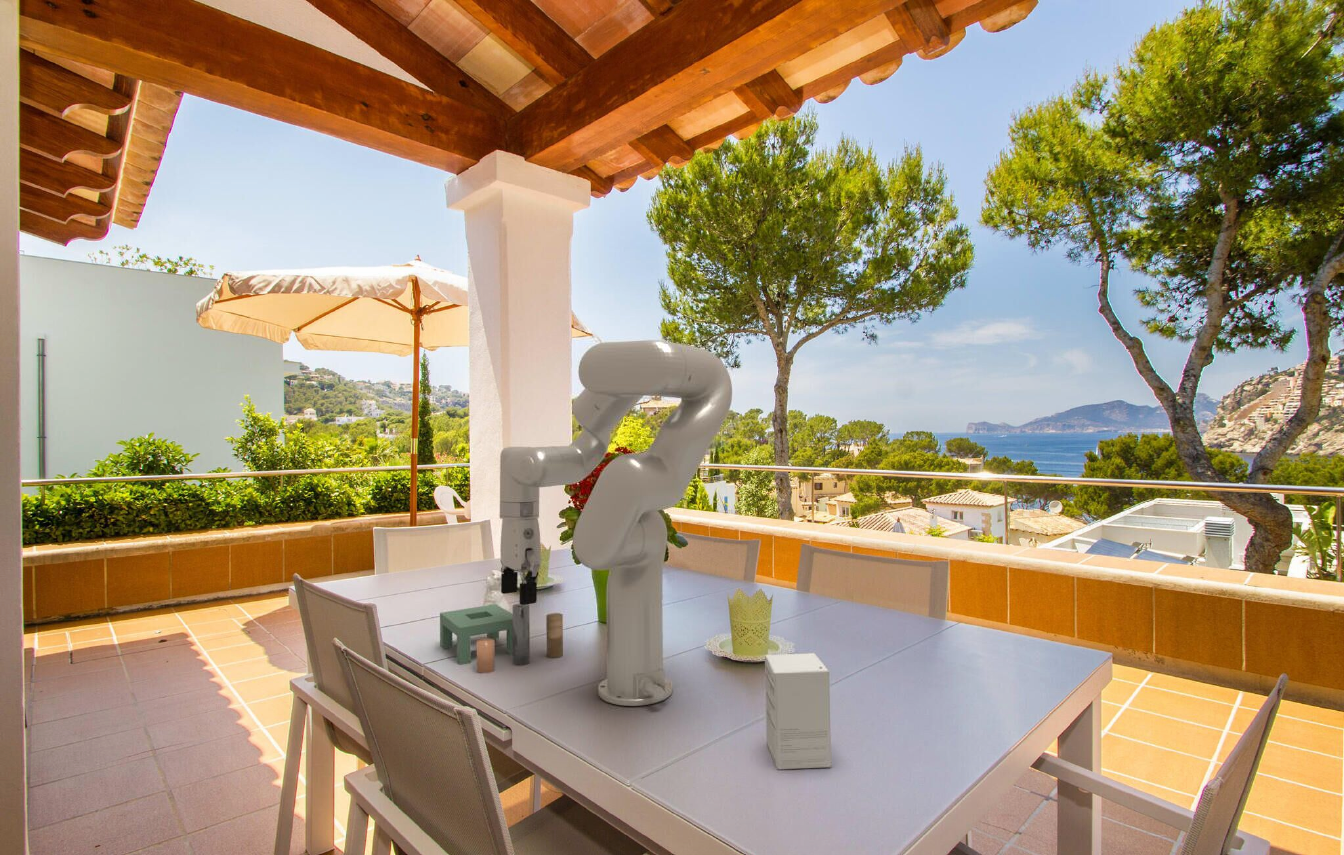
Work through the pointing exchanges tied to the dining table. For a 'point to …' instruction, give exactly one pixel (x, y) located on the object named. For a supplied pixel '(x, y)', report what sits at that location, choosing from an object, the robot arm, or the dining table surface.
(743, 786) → the dining table surface
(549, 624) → the medium pin
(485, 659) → the short pin
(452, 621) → the hole bridge
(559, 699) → the dining table surface
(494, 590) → the white creature statuette
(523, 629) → the long pin
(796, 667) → the supplement box
